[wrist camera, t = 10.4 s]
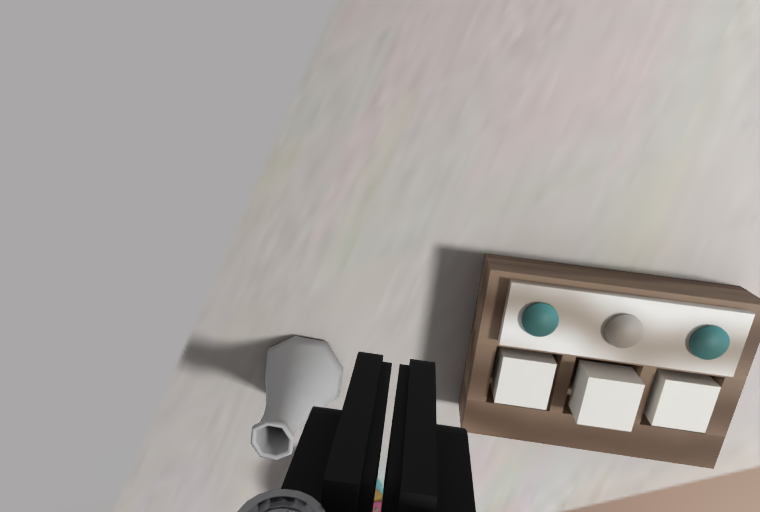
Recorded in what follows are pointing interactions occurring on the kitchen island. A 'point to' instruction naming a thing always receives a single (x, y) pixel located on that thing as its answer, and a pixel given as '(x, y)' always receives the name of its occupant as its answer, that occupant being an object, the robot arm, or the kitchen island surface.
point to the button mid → (605, 395)
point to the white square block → (681, 400)
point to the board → (567, 367)
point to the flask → (294, 392)
